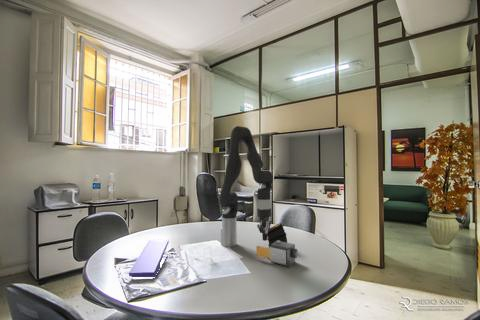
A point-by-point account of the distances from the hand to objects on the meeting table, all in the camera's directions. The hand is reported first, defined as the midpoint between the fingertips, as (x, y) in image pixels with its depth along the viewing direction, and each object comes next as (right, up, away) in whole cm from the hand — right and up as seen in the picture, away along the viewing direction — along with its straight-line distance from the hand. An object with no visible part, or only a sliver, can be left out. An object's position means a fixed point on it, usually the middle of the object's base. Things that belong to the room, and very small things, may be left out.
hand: (265, 240), depth 124 cm
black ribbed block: (+8, -11, +15) cm, 20 cm away
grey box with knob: (+10, -9, -6) cm, 15 cm away
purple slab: (-57, -11, -10) cm, 59 cm away
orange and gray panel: (+3, -9, -6) cm, 11 cm away
